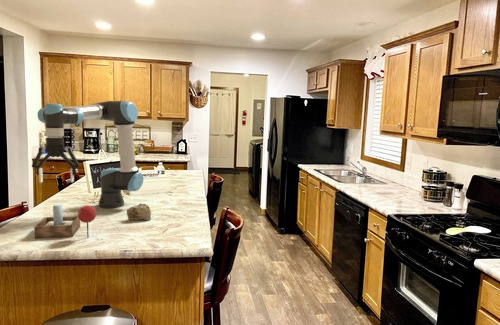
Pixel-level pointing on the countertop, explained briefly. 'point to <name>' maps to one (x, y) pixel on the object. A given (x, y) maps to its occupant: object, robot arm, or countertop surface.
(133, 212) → the rock
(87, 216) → the lollipop
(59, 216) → the peg
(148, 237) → the countertop surface
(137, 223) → the countertop surface
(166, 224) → the countertop surface
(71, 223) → the box
